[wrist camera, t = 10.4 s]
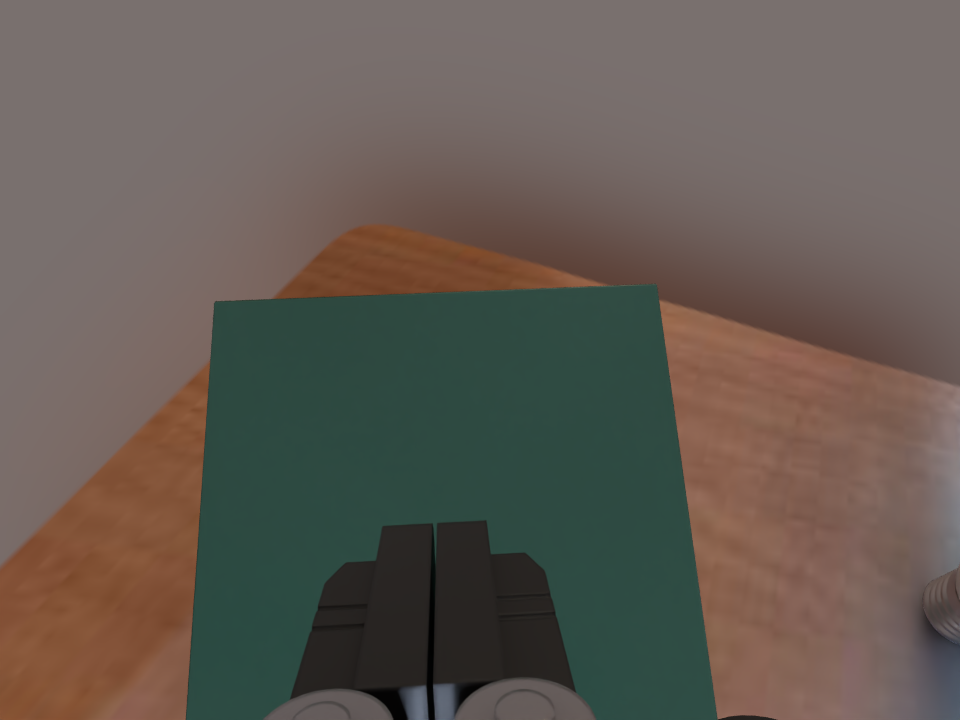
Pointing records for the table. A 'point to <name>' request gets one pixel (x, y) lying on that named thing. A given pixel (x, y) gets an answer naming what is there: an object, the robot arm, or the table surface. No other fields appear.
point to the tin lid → (448, 478)
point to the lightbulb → (944, 605)
